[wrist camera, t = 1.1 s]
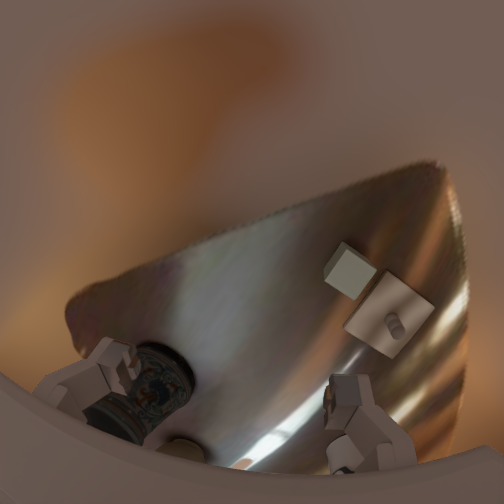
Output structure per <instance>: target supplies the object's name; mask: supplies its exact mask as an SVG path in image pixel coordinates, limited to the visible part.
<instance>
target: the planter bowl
mask: <svg viewBox="0 0 504 504" xmlns="http://www.w3.org/2000/svg"><path fill="white" fill-rule="evenodd" d="M155 451H158V452H161V453H164V454H168V455H171V456H175V457H179V458H183V459H187V460H191V461H195V462H200V463H204V464H206V461H205V458H204V452H203V450H202V449H201V448H200V447H199V446H198V445H197V444H195V443H193V442H191V441H189V440H185V439H175V440H174V441H173V442H169V443H166V444H164V445H162V446H160V447H159V448H157V449H156V450H155Z"/></svg>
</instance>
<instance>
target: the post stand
mask: <svg viewBox="0 0 504 504" xmlns="http://www.w3.org/2000/svg"><path fill="white" fill-rule="evenodd" d="M434 309H435V307H434V306H433V305H432V304H431V303H429V302H428V301H427V300H426V299H424V298H423V297H422V296H420V295H419V294H418V293H417V292H415V291H414V290H413V289H411V288H410V287H409V286H407V285H406V284H405V283H403V282H402V281H401V280H399V279H398V278H397V277H395V276H394V275H393V274H391V273H390V272H389V271H387V270H386V269H385V271H384V272H383V274H382V275H381V276H380V278H379V279H378V281H377V282H376V283H375V285H374V286H373V287H372V289H371V290H370V291H369V293H368V294H367V295H366V297H365V298H364V299H363V301H362V302H361V303H360V305H359V306H358V307H357V308H356V310H355V311H354V312H353V314H352V315H351V316H350V317H349V319H348V320H347V321H346V322H345V323H344V325H343V329H344V330H346V331H347V332H349V333H351V334H352V335H354V336H355V337H357V338H359V339H360V340H362V341H363V342H365V343H367V344H368V345H370V346H372V347H373V348H375V349H376V350H378V351H380V352H381V353H383V354H385V355H386V356H388V357H390V358H391V359H393V358H394V357H395V356H396V355H397V354H398V352H399V351H400V350H401V349H402V348H403V347H404V346H405V345H406V343H407V342H408V341H409V340H410V339H411V338H412V336H413V335H414V334H415V333H416V332H417V330H418V329H419V328H420V327H421V325H422V324H423V323H424V322H425V320H426V319H427V318H428V317H429V315H430V314H431V313H432V311H433V310H434Z"/></svg>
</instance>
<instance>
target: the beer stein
mask: <svg viewBox="0 0 504 504" xmlns="http://www.w3.org/2000/svg"><path fill="white" fill-rule="evenodd" d="M136 349H137V353H136V355H137V356H138V357H139V359H140V362H141V369H140V373H139V375H138V377H137V378H136V379H134V380H132V384H133V386H132V388H131V390H130V391H129V393H128V395H127V396H126V395H122V394H119V393H116V392H113V391H111V392H110V393H108V394H107V395H105V396H104V397H102V398H101V399H99V400H98V401H96V402H95V403H93V404H92V405H90V406H89V407H87V408H86V409H84V410H82V412H83V413H84V415H85V416H86V418H87V423H86V424H88V425H90V426H92V427H94V428H96V429H99V430H101V431H103V432H106V433H108V434H110V435H113V436H115V437H118V438H120V439H123V440H125V441H128V442H131V443H134V444H136V445H139V446H142V445H143V442H144V438H145V437H146V436H147V435H148V434H150V433H151V432H152V431H153V430H154V429H155V428H156V427H157V426H158V425H159V424H160V423H161V422H163V421H164V420H165V419H166V418H167V417H168V416H169V415H171V414H172V413H173V412H174V411H176V410H177V409H179V408H181V407H183V406H184V405H186V404H187V402H188V401H189V400H190V398H191V395H192V391H193V388H194V385H195V382H194V377H193V372H192V370H191V369H190V367H189V366H188V364H187V362H186V361H185V359H184V358H183V357H182V356H180V355H179V354H177V353H176V352H174V351H173V350H171V349H170V348H168V347H167V346H163V345H159V344H156V343H148V344H144V345H141V346H140V347H137V348H136Z"/></svg>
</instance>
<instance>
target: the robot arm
mask: <svg viewBox="0 0 504 504" xmlns="http://www.w3.org/2000/svg"><path fill="white" fill-rule="evenodd" d="M136 353H137V349H136V346H134V345H131V344H128V343H125V342H121V341H118V340H115V339H111V338H108V337H105V338H103V339H102V340H101V341H100V343H99V344H98V345H97V346H96V348H95V349H94V350H93V352H92V353H91V354H90V356H89V357H88V358H87V360H86V359H82V360H80V361H78V362H76V363H73V364H71V365H69V366H67V367H64V368H62V369H60V370H58V371H55V372H53V373H51V374H48V375H46V376H45V377H44V378H43V380H42V381H41V382H40V383H39V384H38V386H37V387H36V388H35V390H34V391H33V392H32V393H30V392H28V391H27V390H25V389H24V388H22V387H21V386H19V385H18V384H17V383H15V382H14V381H12V380H11V379H9V378H8V377H7V376H5V375H4V374H3V373H1V372H0V504H504V455H502V454H501V453H500V452H498V451H497V450H495V449H494V448H492V447H490V446H488V445H482V446H479V447H476V448H473V449H470V450H468V451H465V452H461V453H458V454H455V455H452V456H448V457H445V458H441V459H437V460H434V461H429V462H425V463H421V464H418V462H417V457H416V452H415V447H414V443H413V439H412V438H411V437H410V436H409V435H408V434H407V433H406V432H405V431H404V430H403V429H402V428H401V427H400V426H399V425H398V424H397V423H396V422H395V421H394V420H393V419H392V418H391V417H390V416H389V415H388V414H387V413H386V412H385V411H384V410H383V409H382V408H381V407H380V406H379V405H375V403H374V398H373V393H372V388H371V384H370V379H369V376H368V375H367V374H356V375H355V374H332V375H331V376H330V378H329V385H328V386H326V389H325V392H324V397H323V408H324V409H325V410H326V412H325V414H324V429H339V430H344V431H345V433H346V434H347V435H344V436H342V437H339V438H337V439H336V440H334V441H333V442H332V443H331V444H330V445H329V446H328V447H327V450H326V454H327V457H328V467H329V468H330V475H292V474H275V473H263V472H254V471H246V470H238V469H232V468H226V467H220V466H214V465H209V464H204V463H200V462H195V461H191V460H187V459H183V458H179V457H175V456H171V455H168V454H164V453H161V452H158V451H155V450H151V449H148V448H145V447H142V446H139V445H136V444H134V443H131V442H128V441H125V440H123V439H120V438H118V437H115V436H113V435H110V434H108V433H106V432H103V431H101V430H99V429H96V428H94V427H92V426H90V425H88V424H86V423H87V418H86V416H85V415H84V413H83V412H82V410H84V409H86V408H87V407H89V406H90V405H92V404H93V403H95V402H96V401H98V400H99V399H101V398H102V397H104V396H105V395H107V394H108V393H110V392H111V391H113V392H116V393H119V394H122V395H126V396H127V395H128V393H129V391H130V390H131V388H132V386H133V384H132V380H134V379H136V378H137V377H138V375H139V373H140V369H141V362H140V359H139V357H138V356H137V355H136Z"/></svg>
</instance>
